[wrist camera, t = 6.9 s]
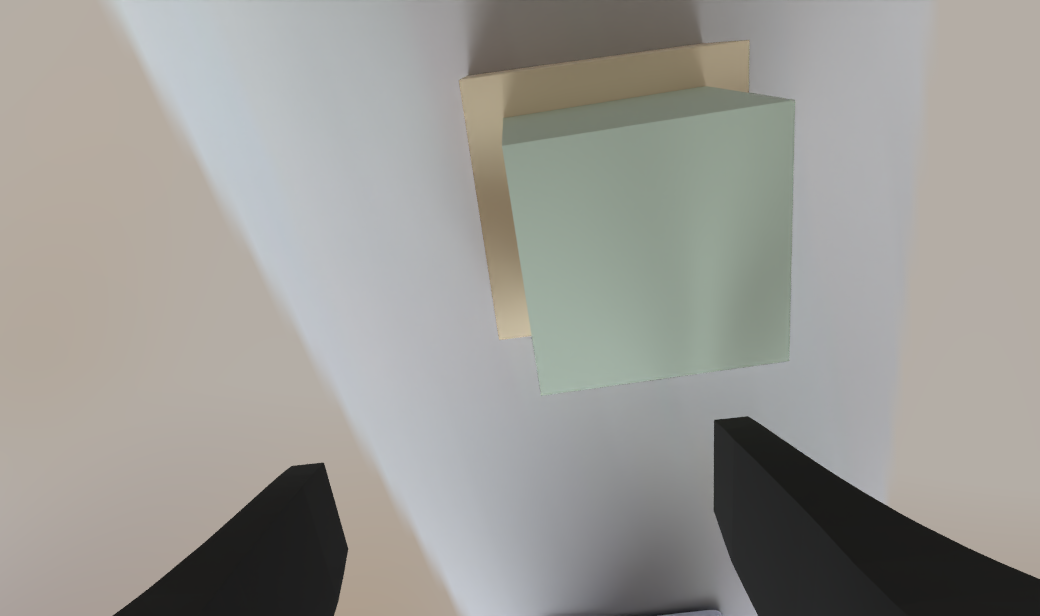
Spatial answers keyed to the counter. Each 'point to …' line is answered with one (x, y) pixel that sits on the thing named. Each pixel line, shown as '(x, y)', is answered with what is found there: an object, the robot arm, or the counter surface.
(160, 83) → the counter surface
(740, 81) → the beech base block
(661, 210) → the sage cube
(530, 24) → the counter surface
